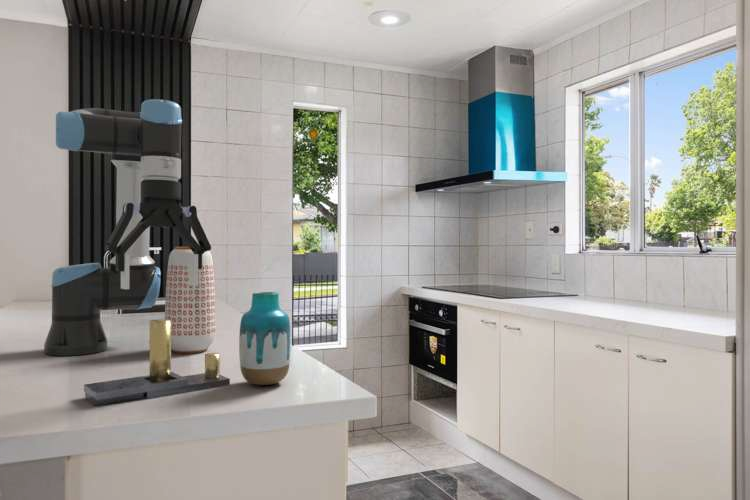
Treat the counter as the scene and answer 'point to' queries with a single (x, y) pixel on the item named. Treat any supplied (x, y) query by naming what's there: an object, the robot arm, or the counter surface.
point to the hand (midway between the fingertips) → (160, 287)
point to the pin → (160, 350)
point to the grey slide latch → (156, 385)
